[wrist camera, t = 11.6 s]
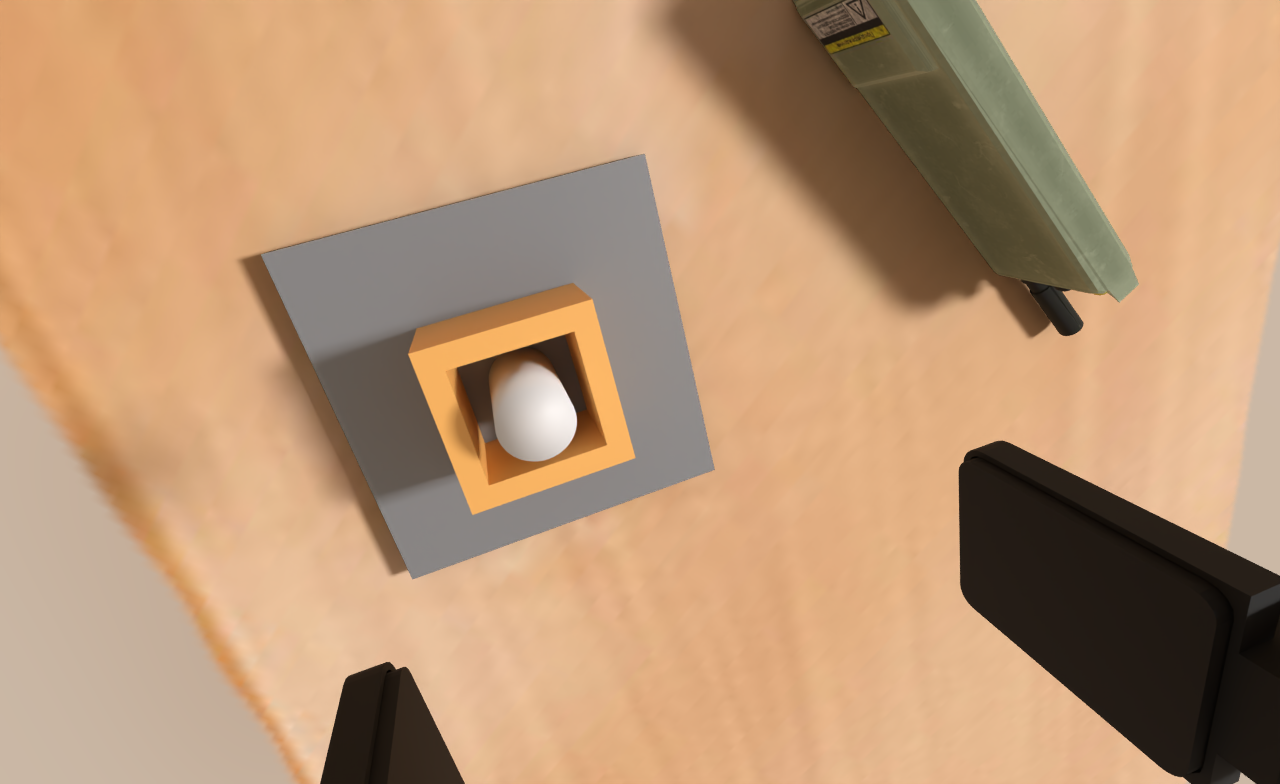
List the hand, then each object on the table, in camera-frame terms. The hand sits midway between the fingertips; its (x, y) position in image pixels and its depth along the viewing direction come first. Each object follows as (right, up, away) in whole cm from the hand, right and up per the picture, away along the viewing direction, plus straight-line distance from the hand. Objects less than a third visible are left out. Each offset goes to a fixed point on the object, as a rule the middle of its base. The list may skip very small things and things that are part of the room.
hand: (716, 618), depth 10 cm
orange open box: (-7, +4, +18) cm, 20 cm away
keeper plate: (-7, +5, +19) cm, 21 cm away
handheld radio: (+15, +15, +23) cm, 31 cm away
